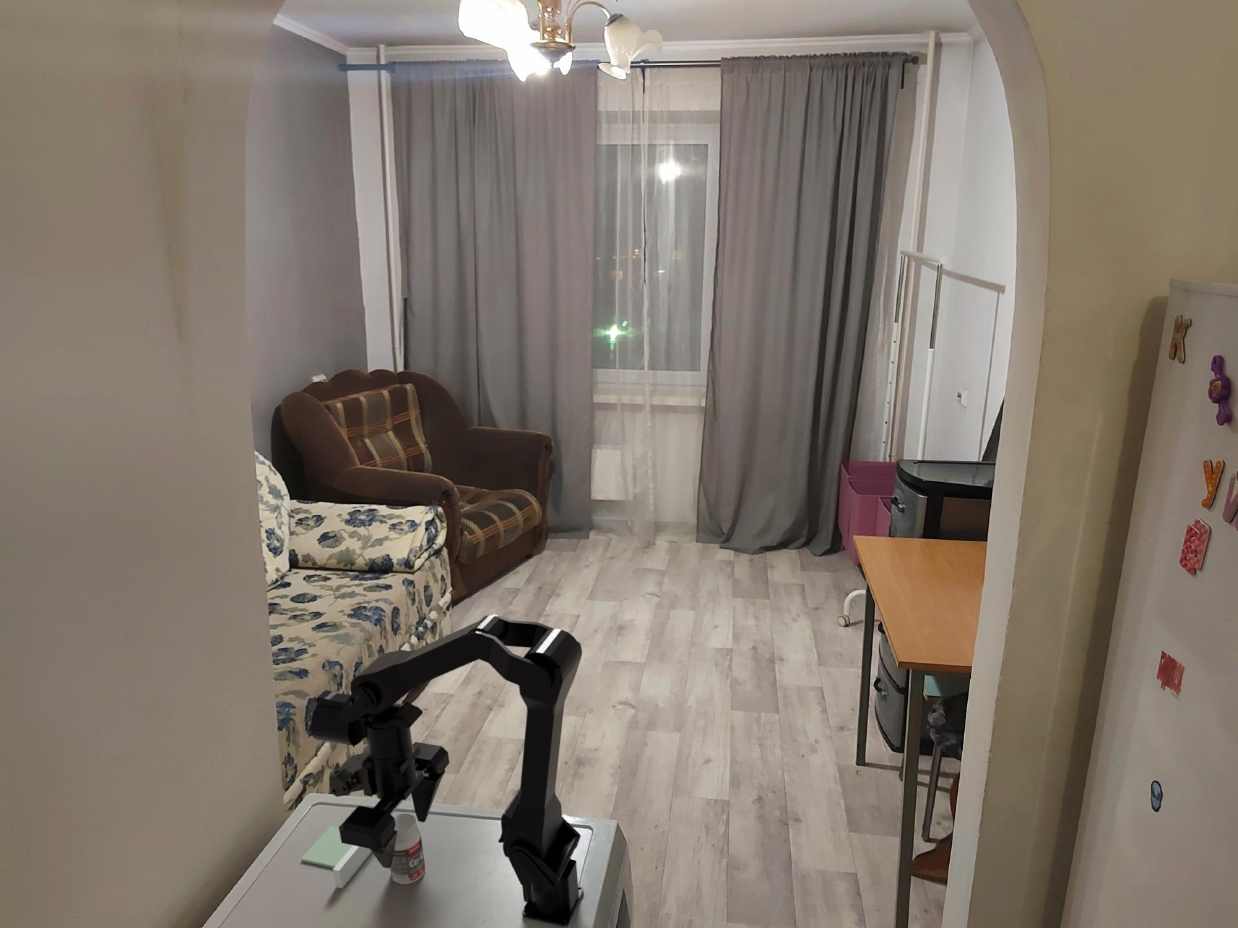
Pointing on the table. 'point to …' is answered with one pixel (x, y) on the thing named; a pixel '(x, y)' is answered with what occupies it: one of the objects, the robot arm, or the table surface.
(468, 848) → the table surface
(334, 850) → the coaster
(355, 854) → the acrylic wall
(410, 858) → the pill bottle
